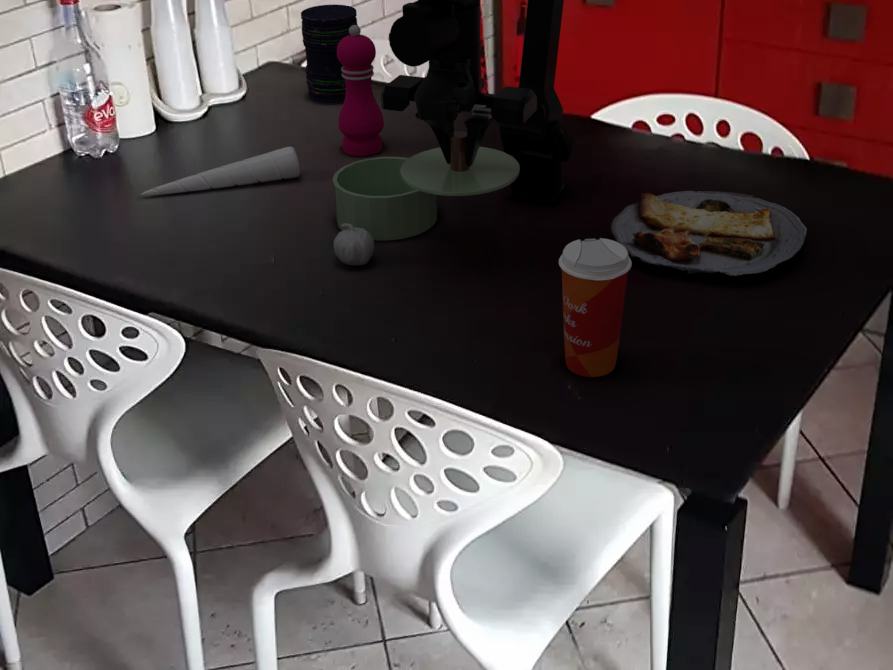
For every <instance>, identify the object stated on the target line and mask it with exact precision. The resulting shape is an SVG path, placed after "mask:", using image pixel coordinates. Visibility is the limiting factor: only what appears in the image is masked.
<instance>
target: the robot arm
mask: <svg viewBox="0 0 893 670" xmlns="http://www.w3.org/2000/svg"><path fill="white" fill-rule="evenodd" d="M564 1H565V0H527V3H526V11H525V12H526V13H525V23H524V30H523V31H524V33H523V43H522V52H521V62H520V71H519V80H518V86H510V85H505V86H504V87H503V88H502V89H501V90H500V91H499V92H498V93H497V94H496V93H487V92H482V89H483V88H485V87H486V84H485V83H486V82H485V77H484V78H483V77H482V56H483V55H485V45H481V44H482V42H481V0H415V1H413V2H408V3H405V4H403V5H402V7H401V9H402V15H401V16H400V17H398V18H396V19H395V21H394V22H393V23H392V25H391V27H390V31H389V33H388V42H389V43H388V44H389V46H390V49H391V52H392V54H393V55H394V57H395V58H396V59H397V60H398V61H399V62H401V63H402V64H403V65H405V66H408V67H411V68H412V67H413V68H414V67H419V66H422V65H424V64H426V63H428V69H427V73H426V75H425V76H414V75H406V74H404V75H403V74H399V75H398V76H396V77H395V78H394V79H393V80H391V81H389V82H388V83H387V84H386V85H385V86H383V87H382V89H381V93H380V106H381V109H383V110H385V111H386V110H387V111H394V112H403V111H405V110H406V109H407V108H408V107H409V106H410V104H411V103H410V102H414V103H415V107H416V112H415V118H416V119H418V120H421V121H423V122H425V123H426V124H428V126H429V127H430V129H431V130H432V132H433V134H434V136H435V138H436V140H437V143H438V145H439V148H441V150H442V153H443V155H444V157H445V160H446V162H447V164H450V133H452V132H455V125H454V124H455V121H456V120H457V118H458V115H459V114H461V113H462V112H465V113H471V115H470V116H469V117H468V118H466V119H465V120H464V121H463V122H464V126H465V127H466V132H467V149H466V160H467V166H469V167H470V166H471V165H472V164H473V162H474V159H475V157H476V154H477V152H478V149H479V147H481V144H482V141H483V138H484V136H485V133H486V131H487V129H488V127H489V126H491V124H492V123H494V121H495V122H496V123H497V124H499V134H500V138H501V143H502V147H503V152H504V153H507V154H509V155H510V156H513V158H515V159H516V160H517V162H518V163H519V166H520V173H519V176H518V177H517V179H516V180H515V181H514V182H513V183H511V184H510V190H511V191H512V192H511V193H510V195H509V199H510V200H513V201H514V200H515V201H520V202H528V203H536V204H543V205H553V204H554V203H555V202H556V201H557V199H558V198H559V197H560V196H561V194H562V193H563V191H564V190H565V188H566V187H565V184H563V183H562V166H563V162H569V160H570V158H571V157H570V156H571V155H572V153H573V148H574V147H573V145H574V137H572V134H570V132H569V130H568V129H567V128H566V127H565V125H564V121H563V120H564V107H563V105H562V103H561V101H560V99H559V96H558V94H557V92H556V90H555V81H556V73H557V64H558V56H559V46H560V39H561V29H562V21H563V11H564Z"/></svg>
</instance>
